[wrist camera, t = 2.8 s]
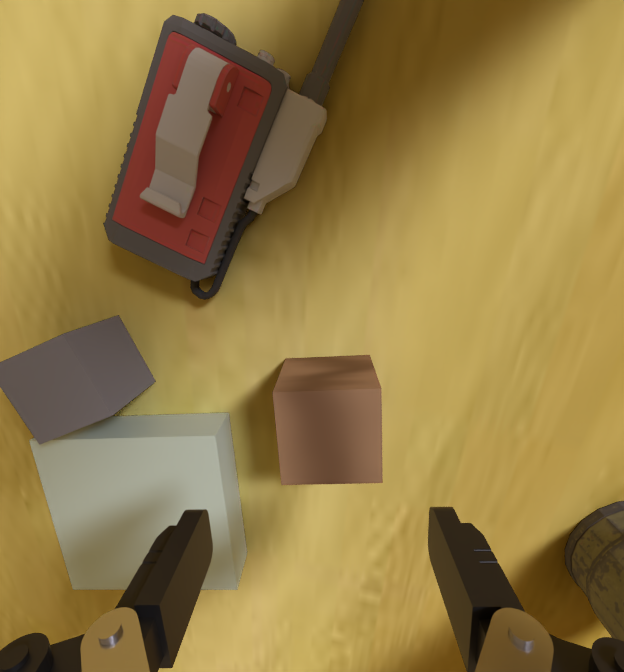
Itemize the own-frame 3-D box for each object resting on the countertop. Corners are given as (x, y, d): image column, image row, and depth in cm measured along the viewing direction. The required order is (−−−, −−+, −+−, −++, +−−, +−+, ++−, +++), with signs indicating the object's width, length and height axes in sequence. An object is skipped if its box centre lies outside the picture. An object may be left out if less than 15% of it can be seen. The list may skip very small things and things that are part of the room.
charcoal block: (119, 314, 23) (63, 333, 18) (156, 381, 24) (112, 415, 19) (57, 342, 24) (-13, 368, 19) (95, 405, 25) (39, 444, 20)
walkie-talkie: (244, 312, 23) (396, -36, 18) (225, 327, 19) (417, -123, 14) (118, 251, 22) (238, -125, 17) (68, 253, 18) (208, -246, 13)
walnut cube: (369, 354, 23) (381, 388, 18) (371, 430, 24) (382, 482, 19) (285, 358, 23) (272, 392, 18) (292, 432, 25) (281, 485, 19)
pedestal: (228, 412, 24) (215, 435, 21) (247, 553, 27) (237, 589, 24) (63, 417, 25) (29, 440, 22) (99, 553, 28) (73, 589, 25)
